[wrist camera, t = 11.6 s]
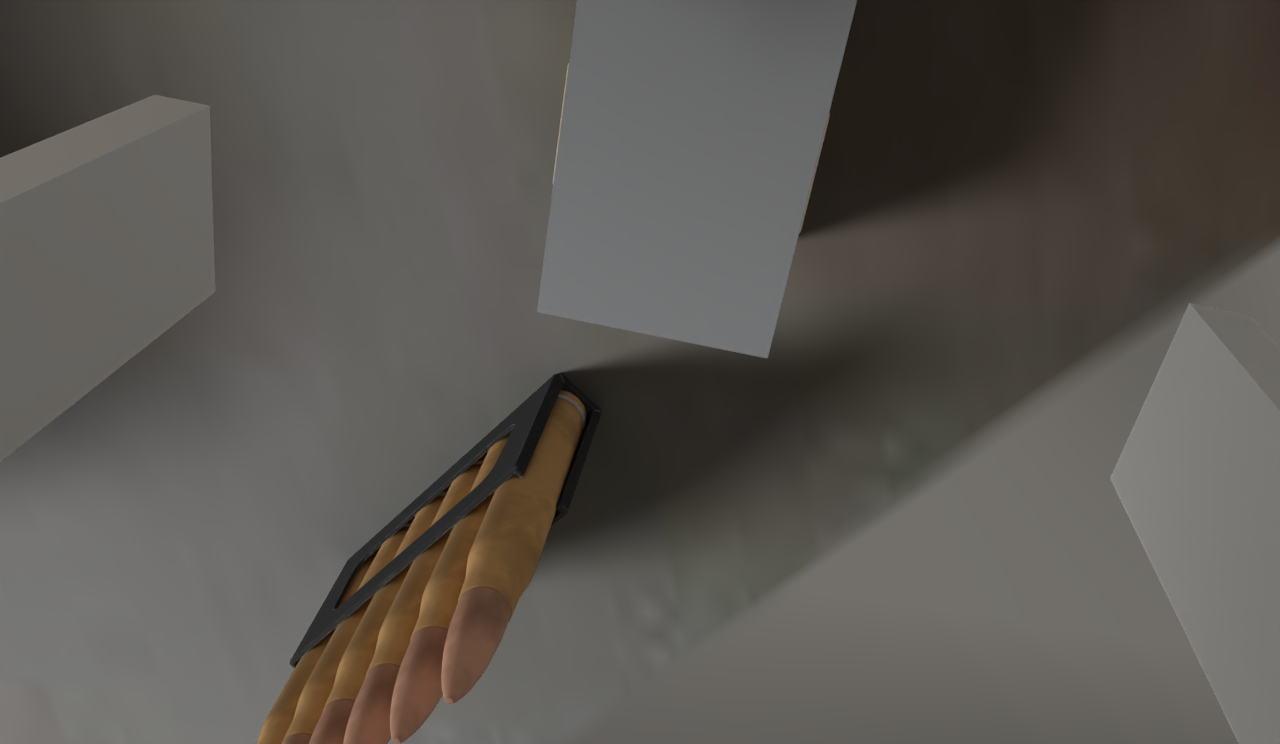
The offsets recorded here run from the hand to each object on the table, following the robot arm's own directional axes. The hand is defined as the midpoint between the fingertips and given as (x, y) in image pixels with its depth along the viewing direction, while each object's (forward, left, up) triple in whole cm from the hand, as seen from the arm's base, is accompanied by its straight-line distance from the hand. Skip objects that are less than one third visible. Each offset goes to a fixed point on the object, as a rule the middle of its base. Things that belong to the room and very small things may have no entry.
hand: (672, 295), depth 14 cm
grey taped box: (0, 0, -14) cm, 14 cm away
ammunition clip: (-5, -14, -14) cm, 21 cm away
